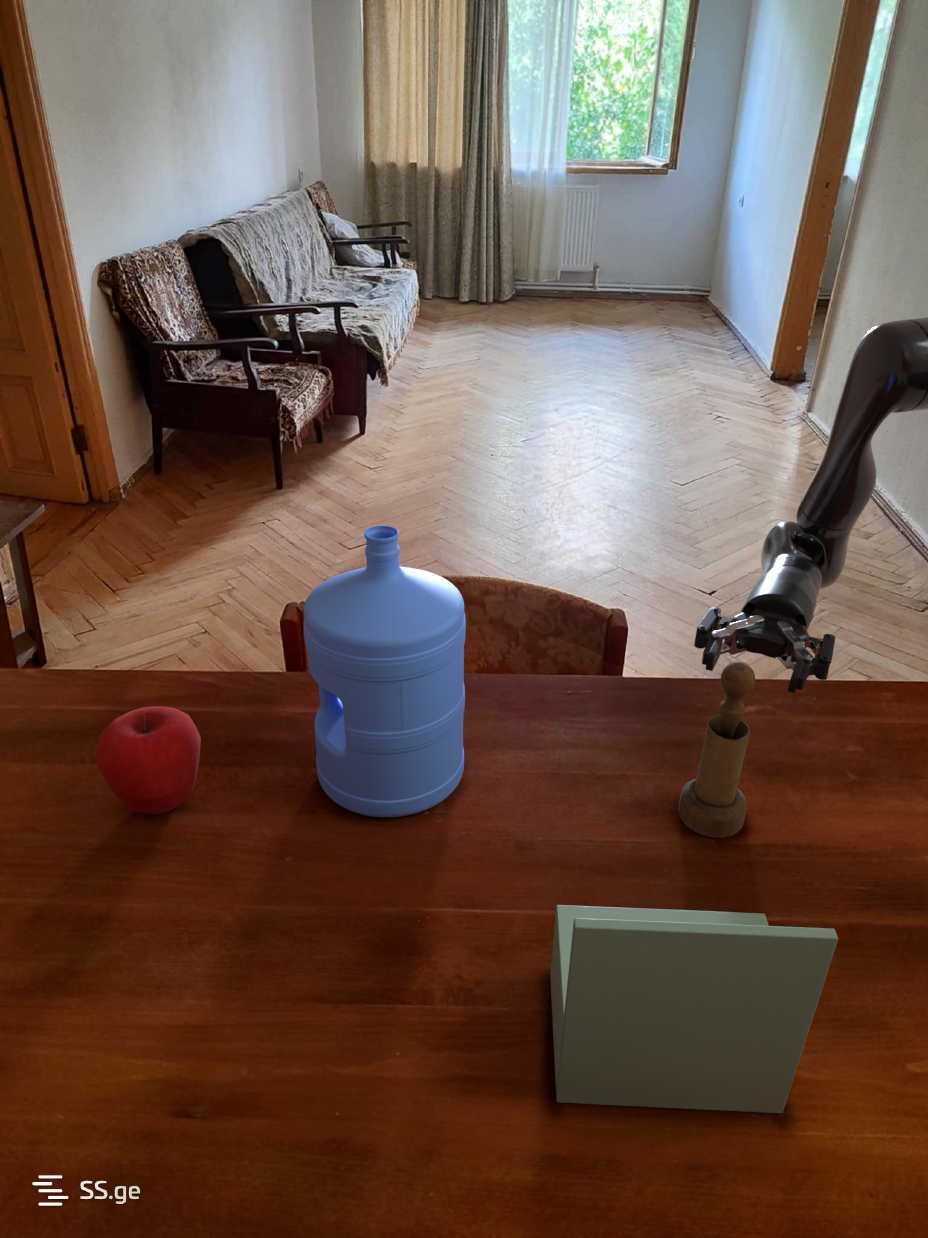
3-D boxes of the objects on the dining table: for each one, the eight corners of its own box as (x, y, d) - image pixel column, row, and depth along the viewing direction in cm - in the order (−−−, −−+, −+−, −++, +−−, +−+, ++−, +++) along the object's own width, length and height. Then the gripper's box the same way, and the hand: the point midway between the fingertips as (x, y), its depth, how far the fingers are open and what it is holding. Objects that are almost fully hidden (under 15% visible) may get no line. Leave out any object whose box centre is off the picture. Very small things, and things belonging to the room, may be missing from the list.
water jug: (475, 736, 100) (479, 506, 86) (448, 831, 87) (449, 577, 73) (342, 721, 102) (326, 494, 89) (297, 811, 89) (269, 561, 75)
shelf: (747, 984, 72) (789, 816, 63) (782, 1114, 62) (838, 939, 54) (550, 975, 72) (564, 808, 63) (556, 1103, 63) (574, 927, 54)
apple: (192, 760, 96) (177, 676, 91) (223, 810, 89) (209, 723, 84) (98, 792, 91) (76, 706, 86) (123, 848, 84) (101, 759, 79)
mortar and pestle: (740, 845, 86) (775, 692, 77) (673, 829, 87) (699, 677, 79) (746, 802, 91) (779, 654, 82) (682, 787, 93) (708, 641, 84)
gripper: (724, 566, 105) (688, 626, 93) (850, 593, 100) (830, 661, 87) (714, 620, 109) (678, 685, 97) (836, 649, 103) (814, 722, 91)
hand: (750, 674), depth 92 cm, fingers open, 8 cm apart
